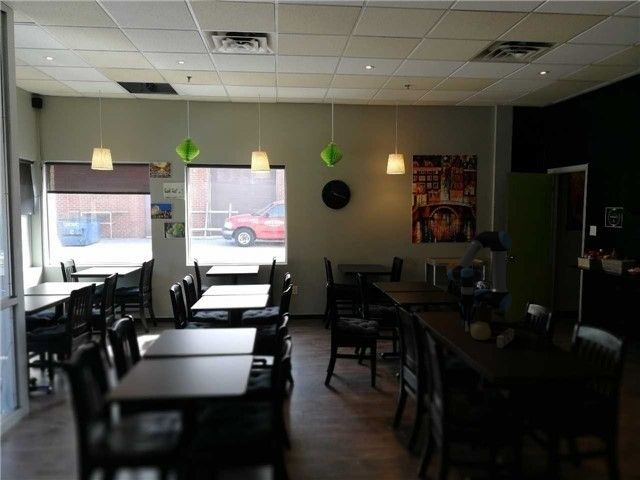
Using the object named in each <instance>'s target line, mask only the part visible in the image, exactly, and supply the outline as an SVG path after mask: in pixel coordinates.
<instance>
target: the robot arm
mask: <svg viewBox="0 0 640 480" xmlns="http://www.w3.org/2000/svg"><path fill="white" fill-rule="evenodd" d="M512 243H513V241H512V237H511V235H510V233H509V232H507V231H503V230H498V231H497V230H491V231H490V230H485V231H483V232H480V233H478V234H476V235H475V236H474V237H473V238H472V239H471V240H470V242H469V246H468V247H467V249H466V250H465V251H464V253H463V255H462V257H461V258H460V259H459V261H458V262H457V264H456V265H455V266H454V268H449V269H448V270H447V275H446V276H447V279H448V280H451V281H456V282H458V281H460V292H461V294H460V301H459V302H458V303H457V304H456V307H458V308H457V309H458V313H459V318H460V319H461V320H462V319H463V320H464V325H465V326H464V332H469V331H470V328H469V326H470V321H471V320H473V319H474V316H475V312H476V308H477V307H478V305H475V304H474V301H473V300H474V295H473V293H474V285H475V283H479V282H481V281H483V280H484V278H485V274H484V272H483V271H482V270H480V269H473V268H470V267H471V265H472V264H473V263H474V260H475V259H476V258H477V256H478V254H479V253H480V252H482V251H483V250H484V249H489V252H491V255H492V256H491V257H492V258H491V259H492V288H491V289H488V288H481V289H475V299H476V300H477V301H479V302H481V301H483V302H488V303H487V305H490V306H492V307H491V310H497V311H508V310H509V309H510V307H511V306H512V302H513V296H512V294H511V293H509V289H508V288H507V253H508V252H509V249H511V247H512ZM462 306H463V311H462ZM472 306H473V311H472V315H471V307H472ZM492 319H493V318H492V317H491V324H492V322H493V320H492Z"/></svg>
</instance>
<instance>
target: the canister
mask: <svg viewBox="0 0 640 480" xmlns="http://www.w3.org/2000/svg"><path fill="white" fill-rule="evenodd" d="M487 303H488V302H483V301H481V302H480V304H478V307H477V308H476V312H475V316H474V322H475V323H476V322H478V321H480V322H485V323H487V324H489V325H488V326H489V328H490V330H491V334H492V323H491V318H492V309H491V307H492V306H490V305H487Z"/></svg>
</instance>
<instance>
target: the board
mask: <svg viewBox="0 0 640 480" xmlns="http://www.w3.org/2000/svg"><path fill="white" fill-rule="evenodd" d="M514 339H515V329H514V328H507V329H505V330H504V331H502V332H501V333H500V334H499V335H498V336H496V348H497V349H503V348H504V347H506V346H507V345H508V344H509V343H511V342H512V341H514Z"/></svg>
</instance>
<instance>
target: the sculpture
mask: <svg viewBox="0 0 640 480" xmlns="http://www.w3.org/2000/svg"><path fill="white" fill-rule="evenodd" d="M488 325H489V324H487V323H485V322H480V321H478V322H476V323H473V324H470V328H469V331H470V333H471V336H472V338H473V339H475V340H479V341H487V340H489V339H490V337H491V336H492V335H491V334H492V333H491V332H492V329H491V330H490V328H489V326H488Z"/></svg>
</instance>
